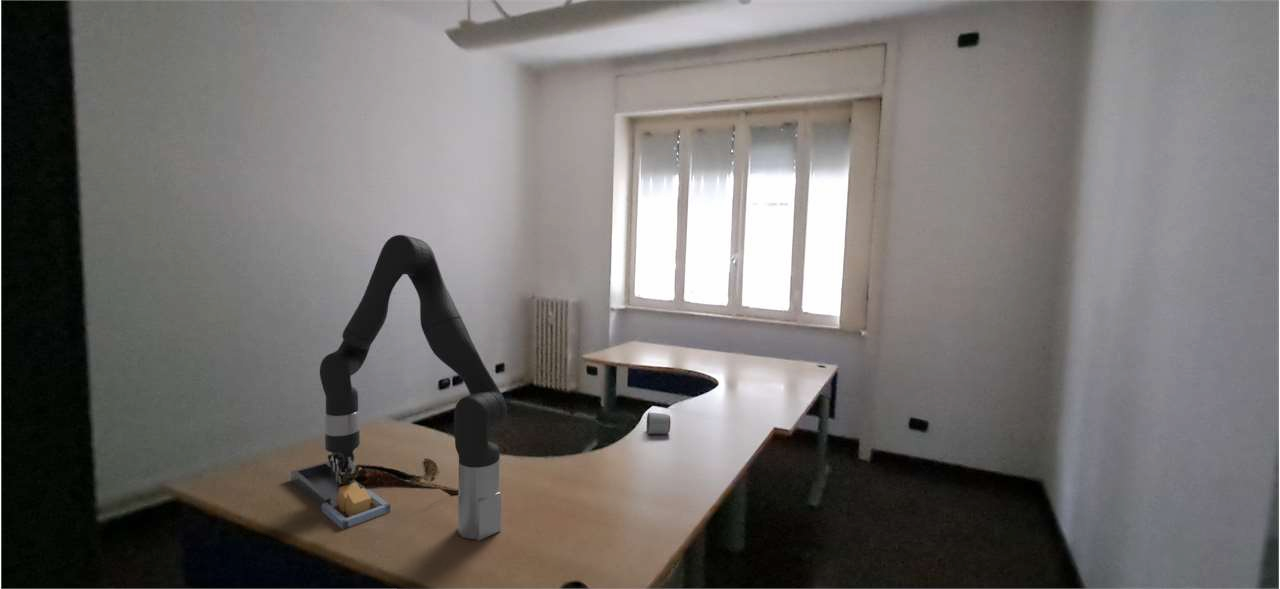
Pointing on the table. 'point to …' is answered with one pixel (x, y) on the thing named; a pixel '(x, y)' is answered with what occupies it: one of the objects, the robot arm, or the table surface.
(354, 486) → the tan cardboard cube
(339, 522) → the tray
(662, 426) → the grey cylinder
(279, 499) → the table surface
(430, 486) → the dark wooden branch
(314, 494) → the rail
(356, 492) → the cardboard box
